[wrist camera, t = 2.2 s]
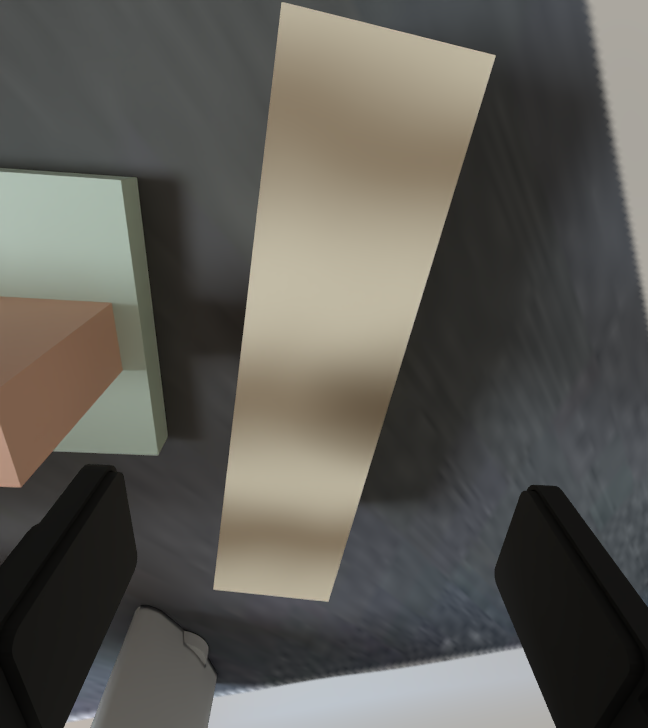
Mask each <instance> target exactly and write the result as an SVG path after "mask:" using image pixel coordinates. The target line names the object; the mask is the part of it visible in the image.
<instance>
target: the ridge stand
mask: <svg viewBox="0 0 648 728" xmlns="http://www.w3.org/2000/svg"><path fill="white" fill-rule="evenodd" d="M167 437H168V432H167V424H166V415H165V407H164V399H163V390H162V382H161V374H160V365H159V357H158V349H157V340H156V332H155V324H154V315H153V307H152V299H151V290H150V282H149V274H148V266H147V257H146V249H145V241H144V232H143V224H142V216H141V207H140V199H139V191H138V182H137V177H123V176H108V175H94V174H80V173H66V172H51V171H37V170H23V169H9V168H0V487H22V486H23V485H24V484H25V482H26V481H27V480H28V479H29V478H30V477H31V475H32V474H33V473H34V472H35V471H36V470H37V469H38V467H39V466H40V465H41V464H42V463H43V462H44V461H45V459H46V458H47V457H48V456H49V455H50V454H51V452H52V451H58V452H83V453H108V454H133V455H159V453H160V451H161V449H162V447H163V445H164V443H165V441H166V439H167Z"/></svg>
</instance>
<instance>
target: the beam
mask: <svg viewBox="0 0 648 728" xmlns="http://www.w3.org/2000/svg"><path fill="white" fill-rule="evenodd" d="M495 57H496V55H492V54H488V53H484V52H480V51H476V50H472V49H468V48H464V47H460V46H456V45H452V44H448V43H444V42H440V41H436V40H432V39H428V38H424V37H420V36H416V35H412V34H408V33H404V32H400V31H396V30H392V29H388V28H384V27H380V26H376V25H372V24H368V23H364V22H360V21H356V20H352V19H348V18H344V17H340V16H336V15H332V14H328V13H324V12H320V11H316V10H312V9H308V8H304V7H300V6H296V5H292V4H288V3H284V2H282V4H281V13H280V21H279V30H278V39H277V47H276V56H275V64H274V73H273V81H272V90H271V99H270V107H269V116H268V124H267V133H266V142H265V150H264V159H263V167H262V176H261V184H260V193H259V202H258V210H257V219H256V227H255V236H254V244H253V253H252V262H251V270H250V279H249V287H248V296H247V305H246V313H245V322H244V330H243V339H242V347H241V356H240V365H239V373H238V382H237V390H236V399H235V407H234V416H233V425H232V433H231V442H230V450H229V459H228V468H227V476H226V485H225V493H224V502H223V510H222V519H221V528H220V536H219V545H218V553H217V562H216V570H215V579H214V588H213V590H222V591H231V592H241V593H250V594H260V595H270V596H279V597H289V598H298V599H308V600H317V601H327V602H328V601H329V598H330V595H331V591H332V588H333V585H334V582H335V578H336V575H337V572H338V569H339V565H340V562H341V559H342V555H343V552H344V549H345V546H346V542H347V539H348V536H349V533H350V529H351V526H352V523H353V520H354V516H355V513H356V510H357V507H358V503H359V500H360V497H361V494H362V490H363V487H364V484H365V480H366V477H367V474H368V471H369V467H370V464H371V461H372V458H373V454H374V451H375V448H376V445H377V441H378V438H379V435H380V432H381V428H382V425H383V422H384V419H385V415H386V412H387V409H388V405H389V402H390V399H391V396H392V392H393V389H394V386H395V383H396V379H397V376H398V373H399V370H400V366H401V363H402V360H403V357H404V353H405V350H406V347H407V344H408V340H409V337H410V334H411V331H412V327H413V324H414V321H415V317H416V314H417V311H418V308H419V304H420V301H421V298H422V295H423V291H424V288H425V285H426V282H427V278H428V275H429V272H430V269H431V265H432V262H433V259H434V256H435V252H436V249H437V246H438V242H439V239H440V236H441V233H442V229H443V226H444V223H445V220H446V216H447V213H448V210H449V207H450V203H451V200H452V197H453V194H454V190H455V187H456V184H457V181H458V177H459V174H460V171H461V167H462V164H463V161H464V158H465V154H466V151H467V148H468V145H469V141H470V138H471V135H472V132H473V128H474V125H475V122H476V119H477V115H478V112H479V109H480V106H481V102H482V99H483V96H484V93H485V89H486V86H487V83H488V79H489V76H490V73H491V70H492V66H493V63H494V60H495Z"/></svg>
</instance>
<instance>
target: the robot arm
mask: <svg viewBox="0 0 648 728" xmlns="http://www.w3.org/2000/svg"><path fill="white" fill-rule="evenodd" d="M136 563H137V550H136V545H135V539H134V533H133V527H132V522H131V516H130V510H129V504H128V499H127V493H126V487H125V481H124V476H123V474H122V473H120V472H117V471H116V468H115V467H114V466H111V465H90V464H88V465H85V466H84V467H83V468H82V469H81V470H80V471H79V473H78V474H77V475H76V477H75V478H74V479H73V481H72V482H71V483H70V484H69V486H68V487H67V488H66V490H65V491H64V492H63V494H62V495H61V496H60V497H59V499H58V500H57V501H56V503H55V504H54V505H53V507H52V508H51V509H50V510H49V512H48V513H47V514H46V516H45V517H44V518H43V519H42V521H41V522H40V523H39V524H37V525H35V526H33V527H32V528H31V529H30V530H29V531H28V532H27V533H26V535H25V536H24V537H23V538H22V540H21V541H20V542H19V543H18V545H17V546H16V547H15V549H14V550H13V551H12V552H11V554H10V555H9V556H8V557H7V559H6V560H5V561H4V563H3V564H2V565H1V566H0V728H64V726H65V723H66V721H67V719H68V717H69V715H70V712H71V710H72V708H73V706H74V703H75V701H76V699H77V697H78V695H79V692H80V690H81V688H82V686H83V684H84V681H85V679H86V677H87V675H88V672H89V670H90V668H91V666H92V664H93V661H94V659H95V657H96V655H97V652H98V650H99V648H100V646H101V644H102V641H103V639H104V637H105V635H106V633H107V630H108V628H109V626H110V624H111V621H112V619H113V617H114V615H115V613H116V610H117V608H118V606H119V604H120V601H121V599H122V597H123V595H124V593H125V590H126V588H127V586H128V584H129V582H130V579H131V577H132V575H133V573H134V570H135V567H136ZM495 581H496V584H497V587H498V589H499V592H500V594H501V597H502V599H503V601H504V604H505V606H506V608H507V611H508V613H509V616H510V618H511V620H512V623H513V625H514V628H515V630H516V632H517V635H518V637H519V640H520V642H521V644H522V647H523V649H524V652H525V654H526V656H527V659H528V661H529V664H530V666H531V668H532V671H533V673H534V676H535V678H536V680H537V683H538V685H539V688H540V690H541V692H542V695H543V697H544V700H545V702H546V704H547V707H548V709H549V712H550V714H551V716H552V719H553V721H554V723H555V726H556V728H648V607H647V606H646V604H645V603H644V602H643V600H642V599H641V597H640V596H639V595H638V593H637V592H636V591H635V589H634V588H633V587H632V585H631V584H630V582H629V581H628V580H627V578H626V577H625V576H624V574H623V573H622V572H621V570H620V569H619V567H618V566H617V565H616V563H615V562H614V561H613V559H612V558H611V557H610V555H609V554H608V552H607V551H606V550H605V548H604V547H603V546H602V544H601V543H600V542H599V540H598V539H597V538H596V536H595V535H594V533H593V532H592V531H591V529H590V528H589V527H588V525H587V524H586V523H585V521H584V520H583V518H582V517H581V516H580V514H579V513H578V512H577V510H576V509H575V508H574V506H573V505H572V503H571V502H570V501H569V499H568V498H567V497H566V495H565V494H564V493H563V491H562V490H561V489H560V488H559V487H557V486H545V485H531V486H530V487H528V489H527V491H523V492H522V493H521V495H520V497H519V500H518V503H517V506H516V509H515V512H514V515H513V517H512V520H511V523H510V526H509V529H508V532H507V535H506V538H505V541H504V543H503V546H502V549H501V552H500V555H499V558H498V561H497V564H496V567H495Z"/></svg>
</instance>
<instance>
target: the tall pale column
mask: <svg viewBox="0 0 648 728" xmlns="http://www.w3.org/2000/svg"><path fill="white" fill-rule="evenodd" d="M207 656H208V645H207V643H206V642H205V641H204V640H203V639H202V638H201V637H200V636H198V635H196V634H193V633H191V632H187V631H183V629H182V628H181V627H180V626H179V625H178V624H176V623H175V622H174V621H173V620H172V619H170V618H169V617H168V616H167V615H166V614H165V613H163V612H162V611H161V610H159V609H156V608H154V607H151V606H144V605H141V606H139V607H138V608H137V609H136V611H135V614H134V616H133V619H132V621H131V624H130V627H129V629H128V632H127V634H126V637H125V640H124V642H123V645H122V647H121V650H120V652H119V655H118V658H117V660H116V663H115V665H114V668H113V670H112V673H111V675H110V678H109V681H108V683H107V686H106V688H105V691H104V694H103V696H102V699H101V701H100V704H99V707H98V709H97V712H96V714H95V717H94V720H93V722H92V725H91V727H90V728H208V722H209V716H210V711H211V706H212V701H213V696H214V691H215V685H216V680H217V672H216V671H215V669H214V667H213V666H212V664H211V662H210V661H209V659H208V657H207Z"/></svg>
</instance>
